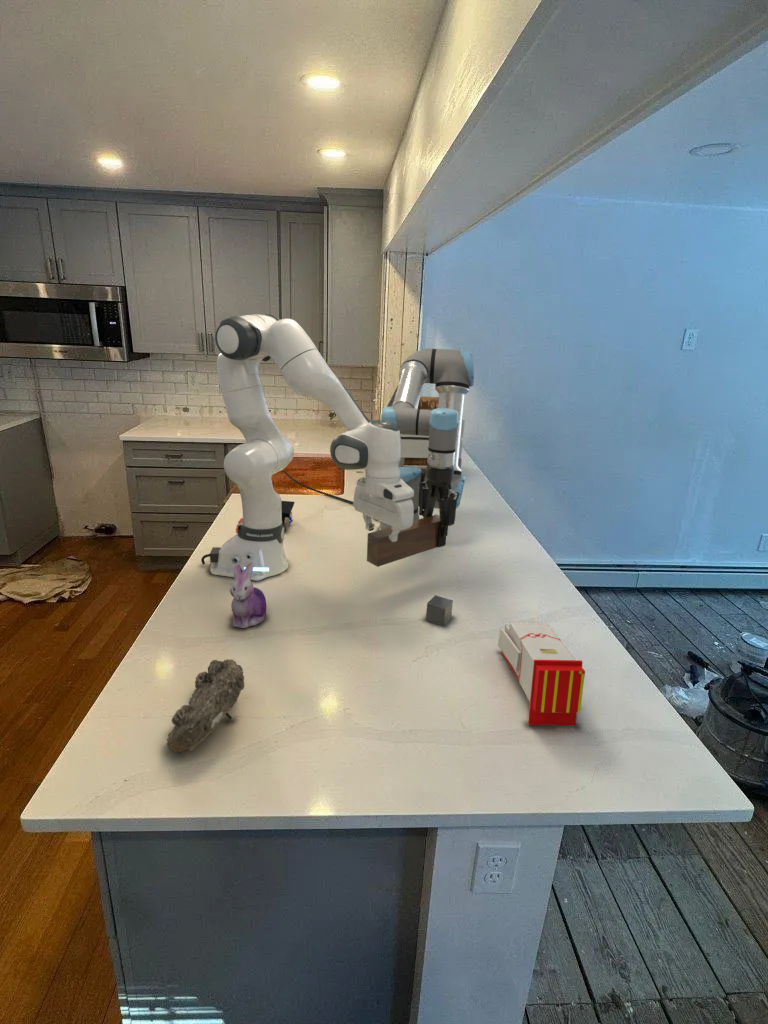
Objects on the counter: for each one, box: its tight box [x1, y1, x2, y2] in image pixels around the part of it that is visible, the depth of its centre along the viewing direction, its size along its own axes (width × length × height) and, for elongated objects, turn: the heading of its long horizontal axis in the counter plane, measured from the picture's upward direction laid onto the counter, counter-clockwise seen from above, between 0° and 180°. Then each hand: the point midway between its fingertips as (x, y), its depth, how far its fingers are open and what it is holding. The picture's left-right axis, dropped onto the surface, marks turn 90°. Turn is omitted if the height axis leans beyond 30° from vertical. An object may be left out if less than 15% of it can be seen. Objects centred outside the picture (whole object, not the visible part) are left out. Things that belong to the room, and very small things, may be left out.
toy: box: [497, 621, 586, 727], centre depth 121 cm, size 12×13×30 cm
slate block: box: [425, 594, 454, 626], centre depth 145 cm, size 5×5×5 cm
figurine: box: [229, 563, 268, 629], centre depth 139 cm, size 9×10×15 cm
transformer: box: [386, 385, 465, 470], centre depth 268 cm, size 34×33×41 cm
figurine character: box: [281, 500, 295, 533], centre depth 201 cm, size 7×8×15 cm
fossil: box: [166, 658, 245, 754], centre depth 106 cm, size 22×10×15 cm
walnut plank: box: [366, 514, 447, 568], centre depth 157 cm, size 4×26×8 cm, turn 131°
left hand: (381, 535), depth 149 cm, fingers open, 8 cm apart
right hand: (434, 542), depth 165 cm, fingers closed on walnut plank, 4 cm apart
